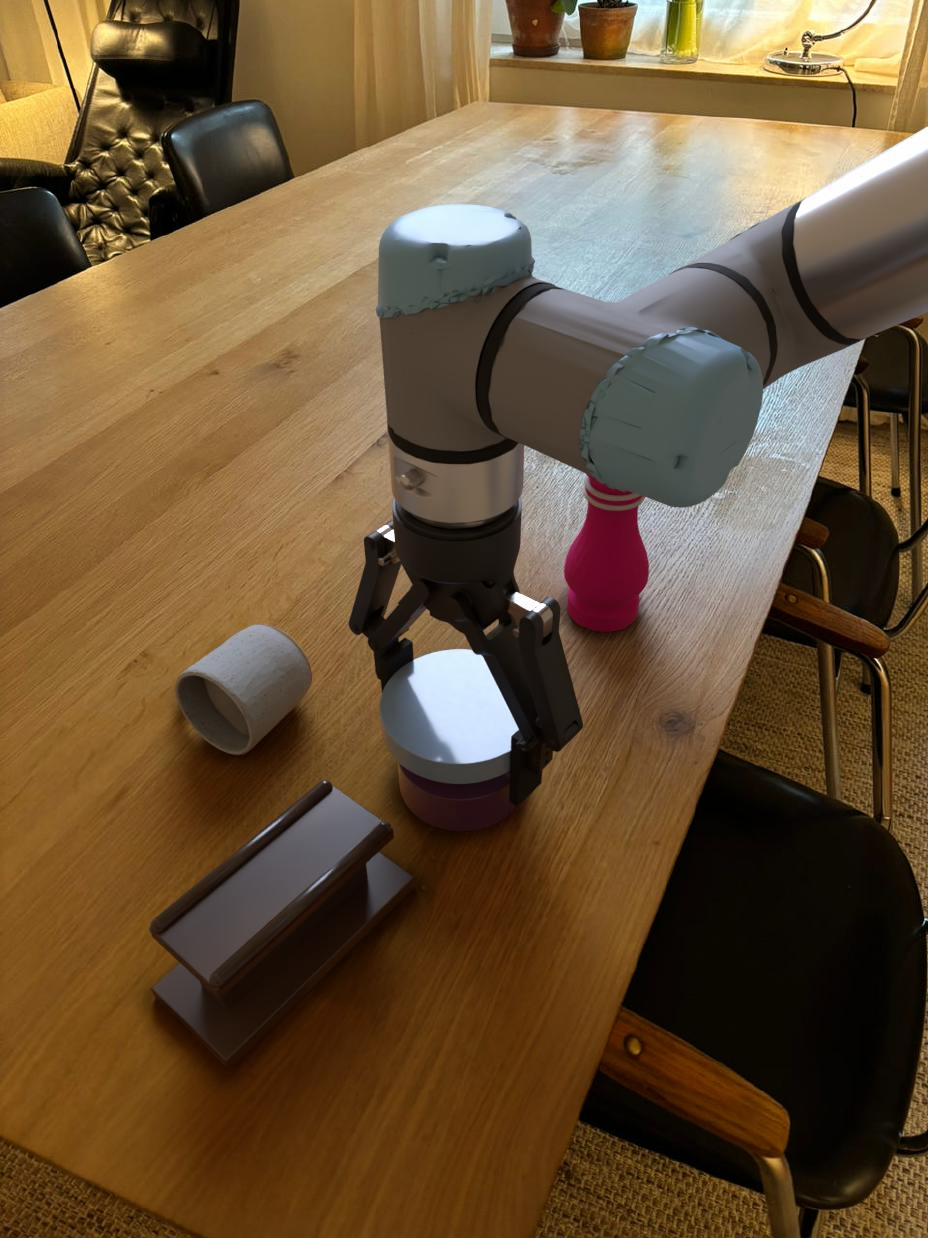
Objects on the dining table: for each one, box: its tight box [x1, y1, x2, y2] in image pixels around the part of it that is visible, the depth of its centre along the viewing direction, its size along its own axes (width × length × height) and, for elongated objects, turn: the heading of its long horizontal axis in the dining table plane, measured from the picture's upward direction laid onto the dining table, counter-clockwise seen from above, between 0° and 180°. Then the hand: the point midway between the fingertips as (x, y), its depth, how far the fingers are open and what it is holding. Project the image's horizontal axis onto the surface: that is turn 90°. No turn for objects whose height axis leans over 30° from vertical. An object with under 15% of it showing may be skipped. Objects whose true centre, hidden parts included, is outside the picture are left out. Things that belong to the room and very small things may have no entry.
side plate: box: [379, 648, 519, 784], centre depth 69 cm, size 11×11×2 cm
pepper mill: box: [563, 474, 650, 633], centre depth 82 cm, size 7×7×20 cm
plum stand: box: [397, 761, 517, 832], centre depth 72 cm, size 9×9×4 cm
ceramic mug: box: [174, 623, 313, 756], centre depth 76 cm, size 11×8×8 cm
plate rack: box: [148, 779, 415, 1071], centre depth 61 cm, size 7×16×8 cm, turn 140°
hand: (460, 751), depth 71 cm, fingers closed on side plate, 11 cm apart
